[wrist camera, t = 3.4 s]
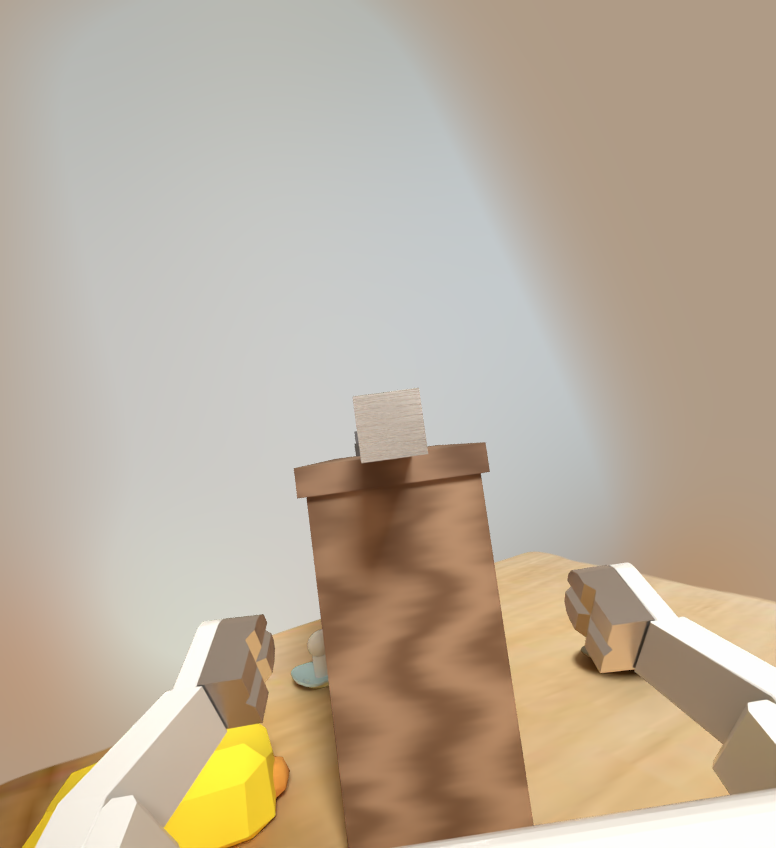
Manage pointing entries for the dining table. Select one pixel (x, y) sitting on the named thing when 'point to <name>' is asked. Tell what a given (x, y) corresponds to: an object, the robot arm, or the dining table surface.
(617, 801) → the dining table surface
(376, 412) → the aluminium bar
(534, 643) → the dining table surface
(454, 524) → the walnut stand
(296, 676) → the pacifier
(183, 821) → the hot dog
